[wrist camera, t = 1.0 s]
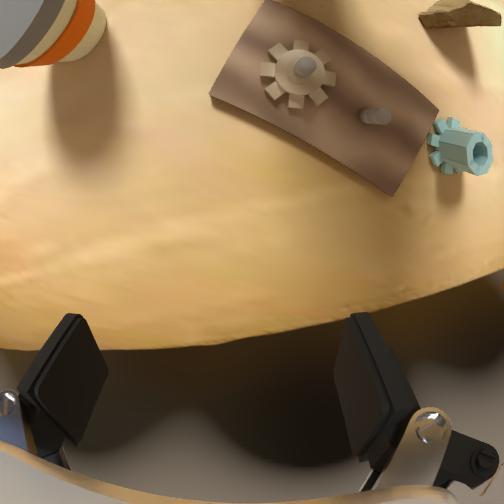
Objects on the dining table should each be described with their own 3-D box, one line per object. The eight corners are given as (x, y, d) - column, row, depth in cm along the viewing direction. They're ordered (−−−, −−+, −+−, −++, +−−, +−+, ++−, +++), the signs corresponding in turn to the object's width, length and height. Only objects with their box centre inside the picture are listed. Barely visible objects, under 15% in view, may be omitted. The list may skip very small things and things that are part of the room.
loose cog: (441, 105, 28) (473, 107, 21) (474, 141, 29) (505, 149, 23) (418, 151, 31) (449, 161, 25) (452, 184, 32) (482, 198, 26)
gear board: (266, 2, 23) (269, -23, 17) (433, 109, 28) (465, 111, 22) (210, 95, 28) (199, 88, 22) (387, 194, 34) (413, 210, 27)
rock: (430, 42, 22) (486, 57, 20) (445, -7, 14) (506, 18, 12) (402, 3, 24) (454, 16, 22) (408, -39, 16) (466, -20, 14)
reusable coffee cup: (136, 2, 22) (79, -45, 8) (88, 84, 27) (8, 78, 13) (73, -10, 19) (12, -38, 6) (33, 64, 24) (-40, 61, 10)
